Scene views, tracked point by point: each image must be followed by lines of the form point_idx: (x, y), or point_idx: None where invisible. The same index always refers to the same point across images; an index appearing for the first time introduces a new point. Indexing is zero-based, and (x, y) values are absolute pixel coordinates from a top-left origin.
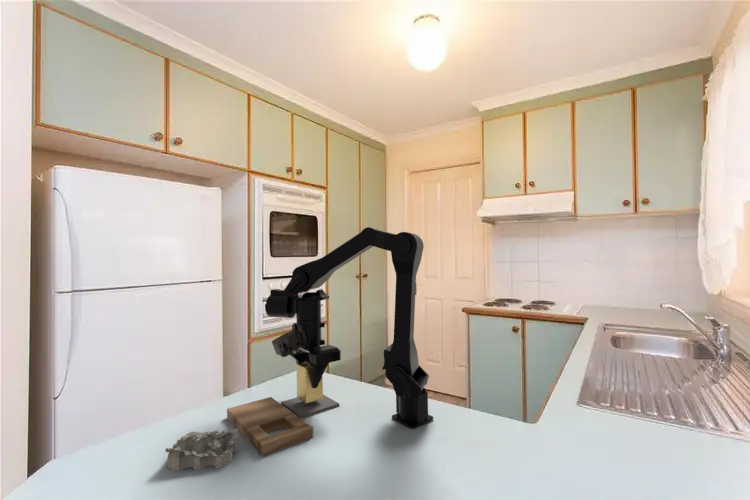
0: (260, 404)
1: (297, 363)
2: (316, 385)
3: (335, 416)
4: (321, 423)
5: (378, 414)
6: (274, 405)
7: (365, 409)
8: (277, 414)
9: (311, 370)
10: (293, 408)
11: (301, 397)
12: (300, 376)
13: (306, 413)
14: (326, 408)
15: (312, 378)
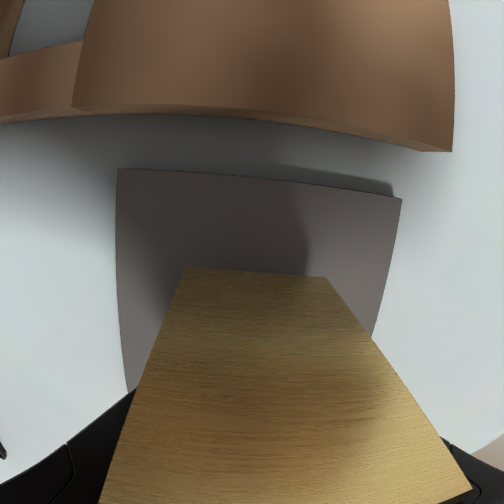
0: (389, 31)
1: (485, 480)
2: None
3: (47, 316)
4: (22, 226)
5: (9, 407)
6: (309, 72)
7: (55, 418)
8: (149, 19)
9: (41, 492)
10: (252, 197)
11: (257, 281)
12: (302, 391)
13: (121, 215)
14: (122, 337)
15: (97, 426)
